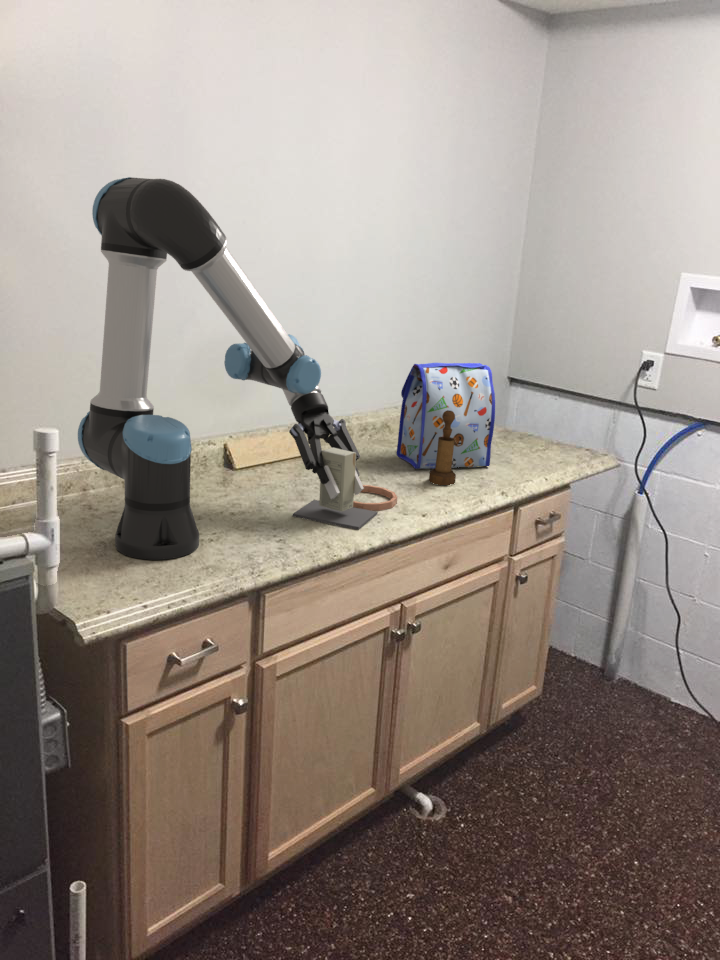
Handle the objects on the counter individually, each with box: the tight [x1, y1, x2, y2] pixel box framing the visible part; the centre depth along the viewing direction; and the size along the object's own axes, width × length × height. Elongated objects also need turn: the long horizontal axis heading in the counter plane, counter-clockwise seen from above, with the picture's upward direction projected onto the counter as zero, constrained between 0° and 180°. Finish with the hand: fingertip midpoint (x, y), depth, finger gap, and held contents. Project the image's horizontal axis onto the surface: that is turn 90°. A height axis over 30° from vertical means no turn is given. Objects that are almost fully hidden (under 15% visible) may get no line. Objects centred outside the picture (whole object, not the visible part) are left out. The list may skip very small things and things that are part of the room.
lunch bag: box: [396, 362, 496, 470], centre depth 222 cm, size 23×17×27 cm
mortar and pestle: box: [428, 410, 457, 486], centre depth 205 cm, size 7×6×18 cm
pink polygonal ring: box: [353, 484, 398, 512], centre depth 189 cm, size 14×14×2 cm
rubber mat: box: [292, 499, 378, 531], centre depth 178 cm, size 11×15×1 cm
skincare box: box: [318, 447, 357, 511], centre depth 176 cm, size 6×4×12 cm
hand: (347, 493), depth 174 cm, fingers closed on skincare box, 6 cm apart
